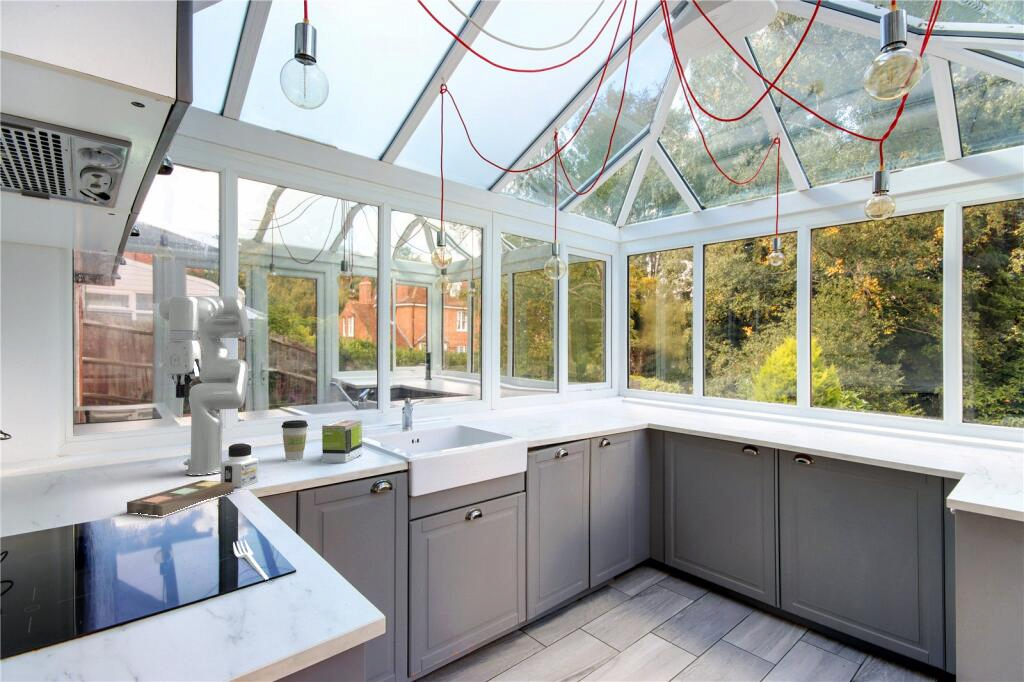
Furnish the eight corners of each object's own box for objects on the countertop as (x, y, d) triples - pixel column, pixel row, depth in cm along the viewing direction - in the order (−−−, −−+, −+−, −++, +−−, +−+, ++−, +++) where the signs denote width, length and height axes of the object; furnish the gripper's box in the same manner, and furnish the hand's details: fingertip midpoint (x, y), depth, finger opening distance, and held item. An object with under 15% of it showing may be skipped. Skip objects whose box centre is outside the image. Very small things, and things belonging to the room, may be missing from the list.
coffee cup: (301, 462, 190) (301, 423, 190) (276, 461, 190) (276, 423, 190) (311, 456, 200) (312, 420, 200) (287, 456, 200) (288, 419, 200)
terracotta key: (141, 512, 129) (141, 501, 129) (158, 506, 134) (158, 495, 134) (155, 513, 128) (155, 502, 128) (172, 508, 133) (172, 497, 133)
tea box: (340, 454, 204) (340, 419, 205) (362, 455, 203) (363, 419, 203) (321, 462, 190) (321, 424, 190) (345, 463, 188) (346, 425, 188)
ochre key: (194, 495, 145) (194, 485, 145) (208, 490, 149) (208, 481, 150) (207, 496, 144) (207, 486, 144) (221, 492, 148) (221, 482, 148)
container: (241, 488, 154) (241, 446, 154) (219, 486, 155) (220, 445, 155) (258, 481, 161) (259, 442, 161) (238, 480, 163) (238, 441, 163)
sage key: (169, 503, 137) (169, 492, 137) (184, 498, 142) (185, 488, 142) (183, 504, 136) (183, 493, 136) (198, 499, 141) (198, 489, 141)
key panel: (126, 513, 129) (126, 502, 129) (201, 489, 151) (202, 480, 152) (162, 517, 126) (162, 505, 126) (233, 492, 148) (233, 482, 148)
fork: (257, 586, 91) (258, 576, 91) (230, 551, 106) (230, 542, 106) (276, 581, 93) (276, 571, 93) (247, 547, 108) (247, 538, 108)
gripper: (152, 336, 146) (151, 398, 146) (192, 336, 142) (191, 399, 142) (175, 337, 153) (174, 395, 153) (214, 337, 149) (213, 397, 149)
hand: (182, 397), depth 147 cm, fingers closed
